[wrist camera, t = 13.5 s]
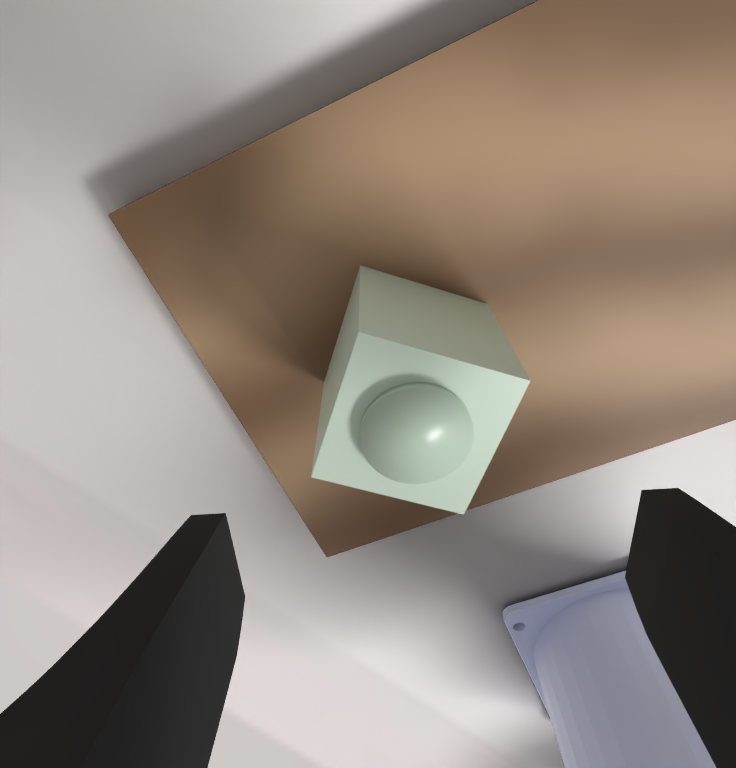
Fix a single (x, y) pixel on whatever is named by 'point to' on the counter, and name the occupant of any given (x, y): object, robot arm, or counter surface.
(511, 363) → the sage cube with dome
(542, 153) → the board
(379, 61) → the counter surface
